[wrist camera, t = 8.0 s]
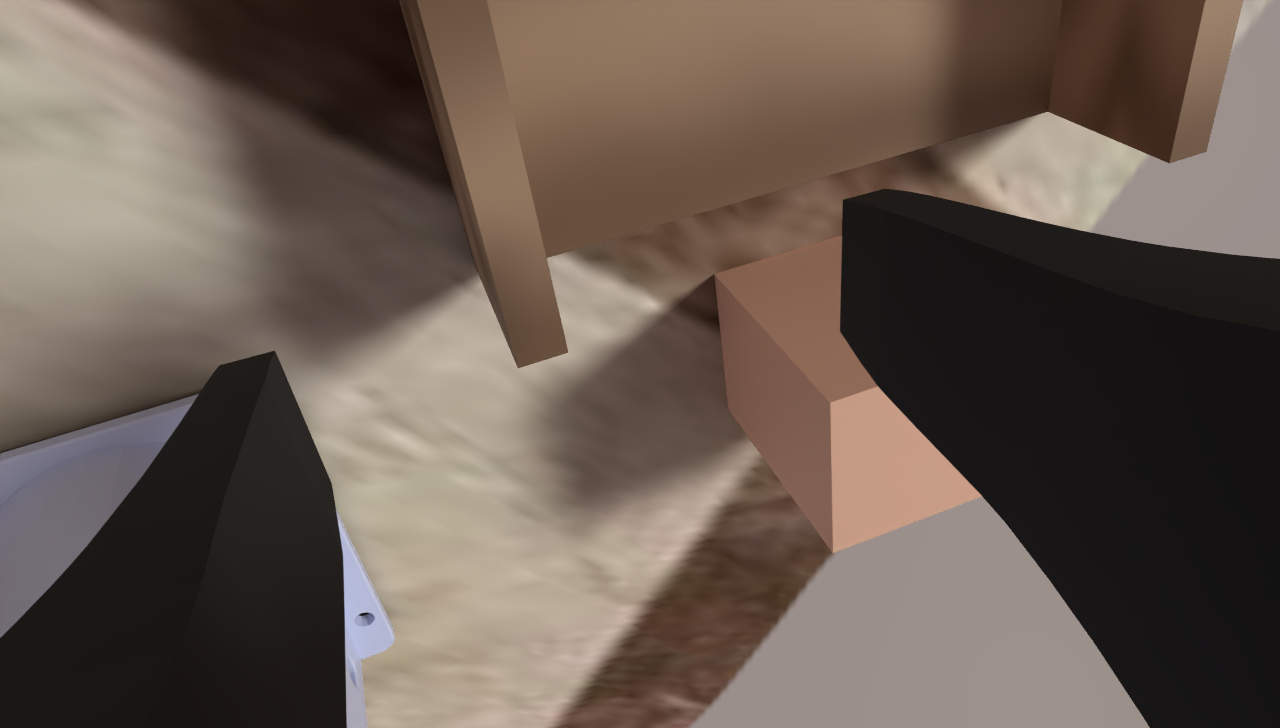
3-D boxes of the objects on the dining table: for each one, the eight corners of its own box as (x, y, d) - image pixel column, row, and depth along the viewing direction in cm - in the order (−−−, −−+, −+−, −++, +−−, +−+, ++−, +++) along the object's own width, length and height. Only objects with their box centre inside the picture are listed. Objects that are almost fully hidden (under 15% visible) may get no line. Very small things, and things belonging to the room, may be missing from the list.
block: (867, 361, 26) (999, 489, 22) (728, 409, 25) (833, 553, 21) (869, 226, 24) (1019, 337, 19) (713, 273, 23) (830, 402, 18)
